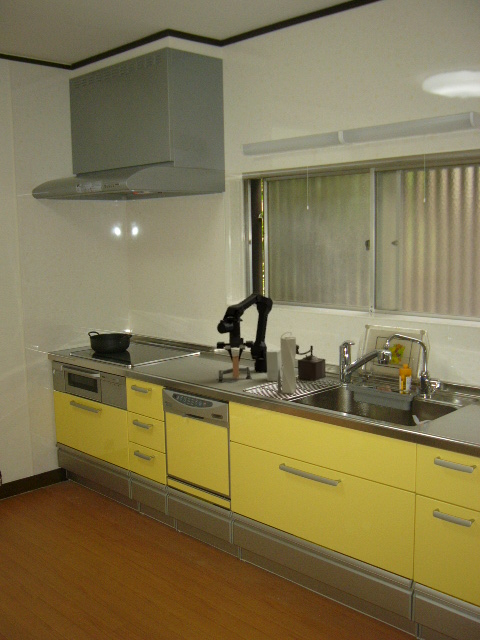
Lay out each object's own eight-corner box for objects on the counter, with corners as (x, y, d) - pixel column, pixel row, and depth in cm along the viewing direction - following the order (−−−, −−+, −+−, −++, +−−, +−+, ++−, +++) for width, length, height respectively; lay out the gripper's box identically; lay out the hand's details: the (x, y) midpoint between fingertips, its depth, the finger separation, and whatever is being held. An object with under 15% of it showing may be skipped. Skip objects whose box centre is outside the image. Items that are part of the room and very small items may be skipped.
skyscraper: (283, 389, 315) (281, 331, 311) (299, 390, 312) (298, 331, 308) (277, 394, 307) (275, 334, 304) (293, 395, 304) (292, 334, 300)
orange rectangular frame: (239, 374, 343) (238, 355, 342) (239, 377, 335) (238, 358, 334) (233, 374, 343) (232, 355, 342) (233, 377, 335) (232, 358, 334)
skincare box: (278, 381, 331) (277, 352, 328) (266, 381, 332) (265, 351, 330) (282, 377, 338) (281, 349, 336) (271, 377, 340) (270, 348, 338)
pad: (223, 377, 342) (223, 377, 342) (238, 381, 334) (238, 380, 334) (216, 379, 339) (216, 379, 339) (231, 382, 331) (231, 382, 331)
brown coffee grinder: (308, 374, 345) (307, 340, 342) (326, 376, 338) (325, 341, 335) (290, 380, 333) (289, 344, 331) (308, 382, 326) (307, 346, 323)
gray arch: (251, 377, 341) (251, 366, 340) (251, 381, 332) (251, 370, 331) (218, 378, 341) (218, 367, 340) (217, 382, 332) (217, 371, 331)
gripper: (215, 334, 328) (216, 365, 330) (253, 333, 328) (254, 364, 330) (216, 330, 339) (217, 360, 341) (253, 329, 339) (253, 359, 341)
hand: (235, 361), depth 338 cm, fingers closed on orange rectangular frame, 3 cm apart
